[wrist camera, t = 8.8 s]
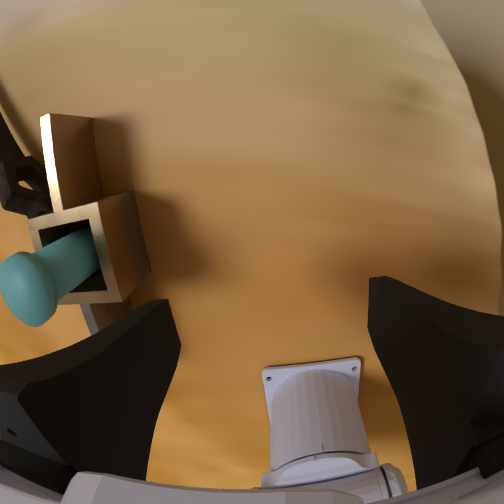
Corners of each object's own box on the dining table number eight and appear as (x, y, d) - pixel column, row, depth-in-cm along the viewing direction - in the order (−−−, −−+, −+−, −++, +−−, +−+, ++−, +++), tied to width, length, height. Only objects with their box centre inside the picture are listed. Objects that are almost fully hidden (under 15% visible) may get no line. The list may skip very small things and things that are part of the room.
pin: (133, 260, 22) (59, 328, 12) (92, 264, 22) (13, 325, 13) (122, 210, 21) (34, 253, 11) (81, 217, 21) (-9, 259, 12)
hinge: (170, 340, 24) (150, 379, 19) (108, 340, 24) (82, 374, 20) (121, 107, 18) (82, 98, 14) (57, 130, 19) (14, 131, 14)
